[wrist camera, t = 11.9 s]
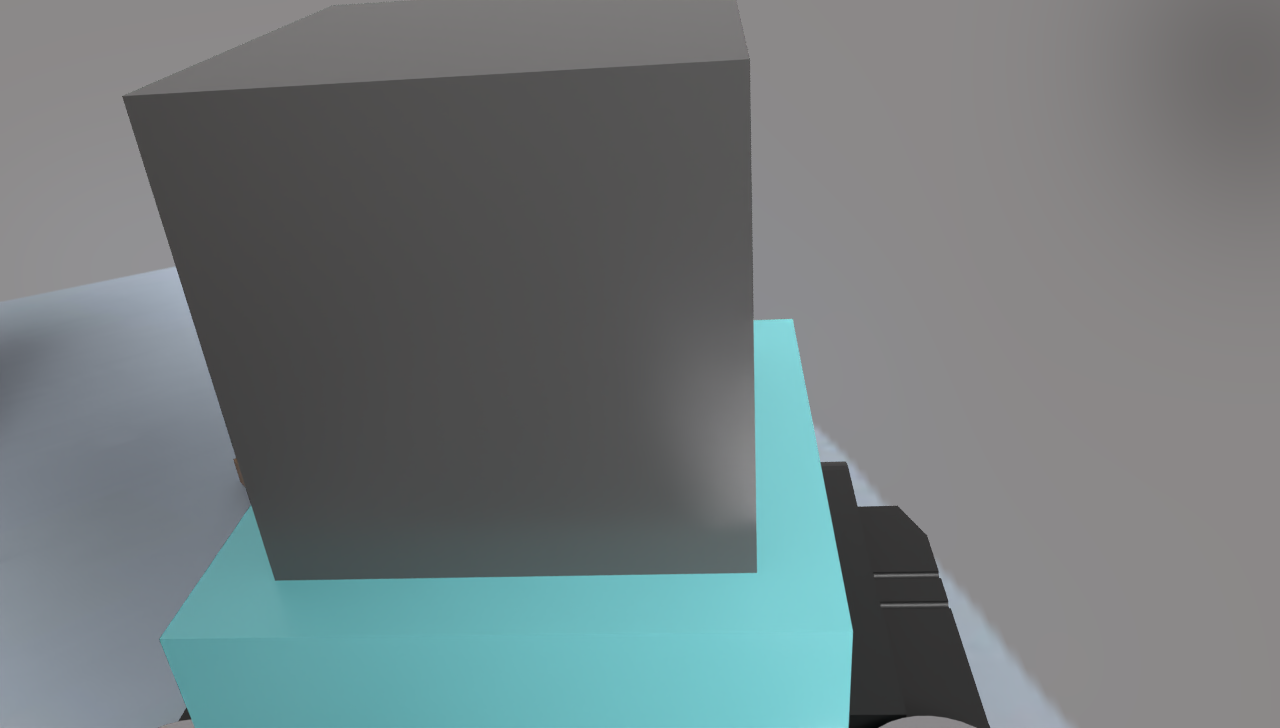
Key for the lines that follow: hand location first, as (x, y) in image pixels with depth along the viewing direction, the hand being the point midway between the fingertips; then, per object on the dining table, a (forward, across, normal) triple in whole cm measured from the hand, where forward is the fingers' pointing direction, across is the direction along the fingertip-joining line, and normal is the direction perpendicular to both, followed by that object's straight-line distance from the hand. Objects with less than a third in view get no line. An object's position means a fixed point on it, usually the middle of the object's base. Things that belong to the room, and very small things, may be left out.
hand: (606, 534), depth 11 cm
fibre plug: (-3, 0, +8) cm, 8 cm away
